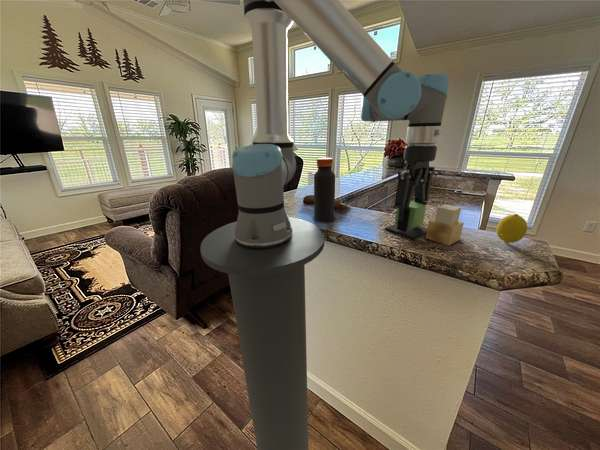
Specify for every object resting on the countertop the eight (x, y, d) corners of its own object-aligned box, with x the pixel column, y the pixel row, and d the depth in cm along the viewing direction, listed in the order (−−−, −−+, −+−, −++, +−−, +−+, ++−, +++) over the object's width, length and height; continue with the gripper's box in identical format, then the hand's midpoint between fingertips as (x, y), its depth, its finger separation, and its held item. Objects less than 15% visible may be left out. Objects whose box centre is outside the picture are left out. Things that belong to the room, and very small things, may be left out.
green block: (394, 223, 69) (397, 203, 67) (405, 219, 72) (408, 200, 70) (412, 229, 65) (415, 208, 63) (423, 224, 68) (426, 204, 66)
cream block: (434, 221, 62) (437, 206, 61) (442, 218, 64) (445, 204, 63) (450, 225, 59) (453, 210, 58) (457, 222, 61) (461, 207, 60)
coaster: (385, 229, 71) (385, 227, 70) (403, 222, 75) (403, 220, 75) (412, 239, 64) (413, 237, 64) (430, 231, 68) (431, 229, 68)
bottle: (312, 216, 83) (311, 158, 76) (330, 214, 84) (331, 157, 77) (317, 223, 77) (317, 160, 70) (336, 221, 78) (338, 159, 71)
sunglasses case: (352, 206, 90) (348, 194, 86) (343, 219, 87) (338, 207, 83) (315, 199, 102) (310, 187, 97) (306, 210, 99) (300, 199, 94)
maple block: (425, 238, 64) (428, 221, 63) (436, 232, 67) (440, 216, 66) (448, 246, 60) (452, 227, 58) (459, 239, 63) (463, 222, 61)
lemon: (493, 237, 64) (502, 209, 61) (520, 242, 60) (531, 213, 57) (492, 244, 60) (501, 214, 57) (521, 250, 57) (532, 219, 54)
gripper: (414, 147, 53) (400, 240, 62) (454, 143, 62) (437, 224, 71) (385, 146, 59) (377, 231, 67) (426, 142, 68) (414, 217, 77)
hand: (408, 227), depth 69 cm, fingers closed on green block, 5 cm apart
